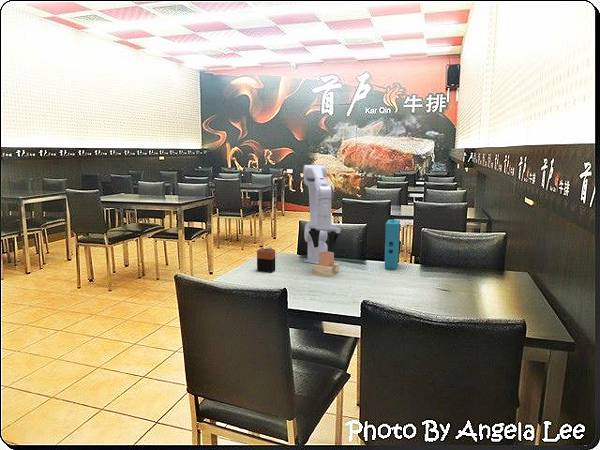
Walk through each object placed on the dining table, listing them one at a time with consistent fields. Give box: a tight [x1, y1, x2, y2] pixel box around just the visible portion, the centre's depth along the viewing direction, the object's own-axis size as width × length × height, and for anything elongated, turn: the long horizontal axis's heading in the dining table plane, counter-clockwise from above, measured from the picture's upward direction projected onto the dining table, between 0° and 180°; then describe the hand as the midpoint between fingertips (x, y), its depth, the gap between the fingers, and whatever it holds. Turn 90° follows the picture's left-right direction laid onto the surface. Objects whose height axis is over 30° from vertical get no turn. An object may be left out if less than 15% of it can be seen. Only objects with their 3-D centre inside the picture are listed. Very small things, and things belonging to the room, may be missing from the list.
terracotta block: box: [318, 251, 335, 267], centre depth 182 cm, size 4×4×5 cm
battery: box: [256, 246, 276, 273], centre depth 186 cm, size 4×7×10 cm, turn 68°
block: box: [384, 219, 401, 271], centre depth 192 cm, size 12×5×20 cm, turn 163°
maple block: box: [312, 262, 340, 278], centre depth 183 cm, size 8×8×4 cm
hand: (323, 248), depth 182 cm, fingers open, 7 cm apart
